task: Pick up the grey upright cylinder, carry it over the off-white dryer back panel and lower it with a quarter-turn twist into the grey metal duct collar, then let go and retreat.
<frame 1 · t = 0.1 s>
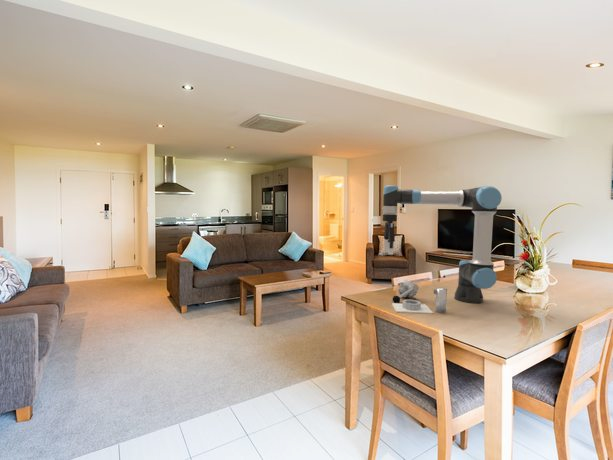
hand: (388, 252, 179), 28 cm above the table, fingers open, 13 cm apart
valve: (401, 299, 188), on the table
grey upright cylinder: (440, 311, 166), on the table
duct panel: (411, 308, 171), on the table
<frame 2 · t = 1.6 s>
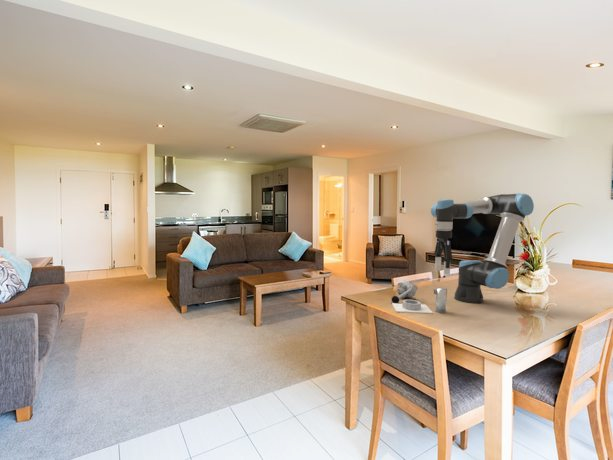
hand: (442, 271, 165), 21 cm above the table, fingers open, 13 cm apart
valve: (400, 300, 188), on the table
everything else where it was.
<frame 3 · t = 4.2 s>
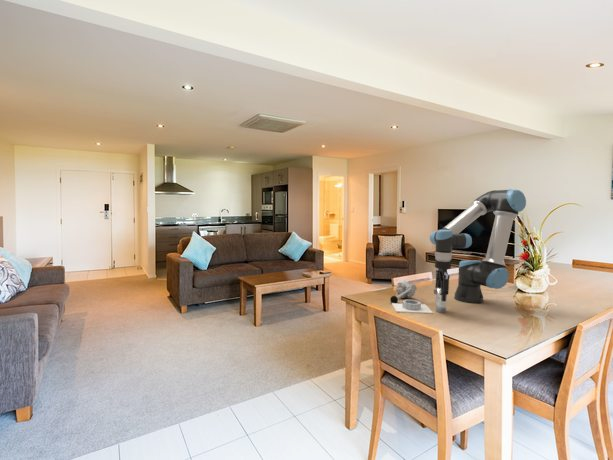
hand: (441, 305, 166), 3 cm above the table, fingers closed on grey upright cylinder, 5 cm apart
grey upright cylinder: (440, 311, 166), on the table, touching gripper
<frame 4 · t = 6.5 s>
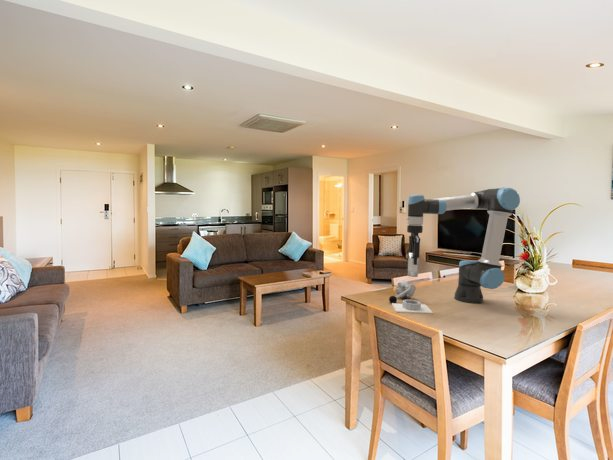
hand: (413, 269, 169), 21 cm above the table, fingers closed on grey upright cylinder, 5 cm apart
grey upright cylinder: (412, 275, 169), point 17 cm above the table, touching gripper
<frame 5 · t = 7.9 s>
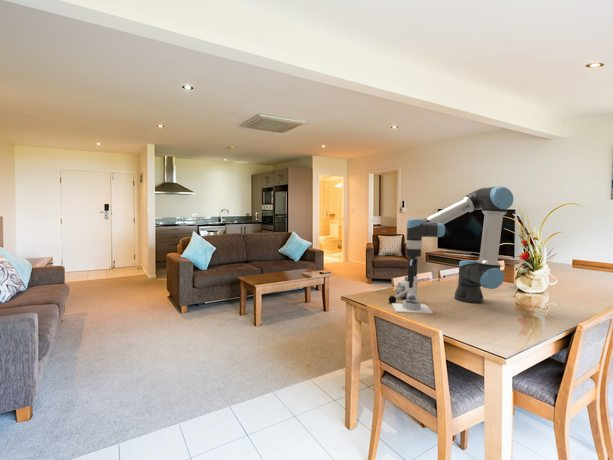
hand: (411, 292, 170), 9 cm above the table, fingers closed on grey upright cylinder, 5 cm apart
grey upright cylinder: (411, 298, 170), point 5 cm above the table, touching gripper
when the fingers open (5 cm above the table, at t = 9.2 s): grey upright cylinder drops 1 cm, resting on duct panel.
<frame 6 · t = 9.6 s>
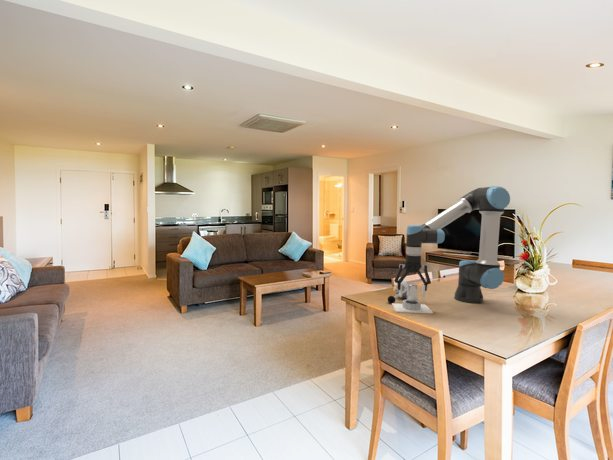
hand: (411, 296, 170), 6 cm above the table, fingers open, 11 cm apart
grey upright cylinder: (411, 307, 171), point 1 cm above the table, touching duct panel
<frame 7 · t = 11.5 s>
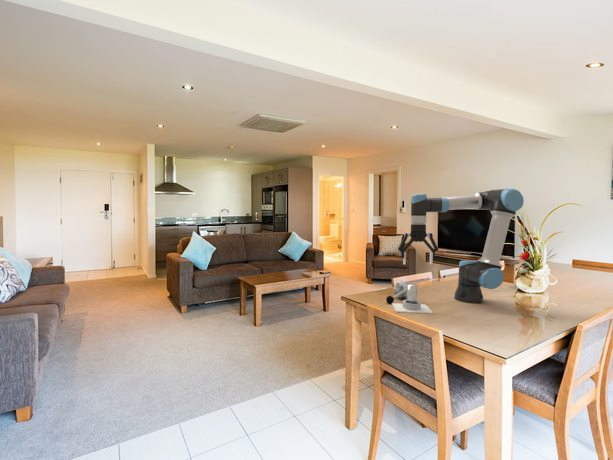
hand: (417, 264, 170), 23 cm above the table, fingers open, 13 cm apart
valve: (396, 300, 187), on the table, touching duct panel
everything else where it was.
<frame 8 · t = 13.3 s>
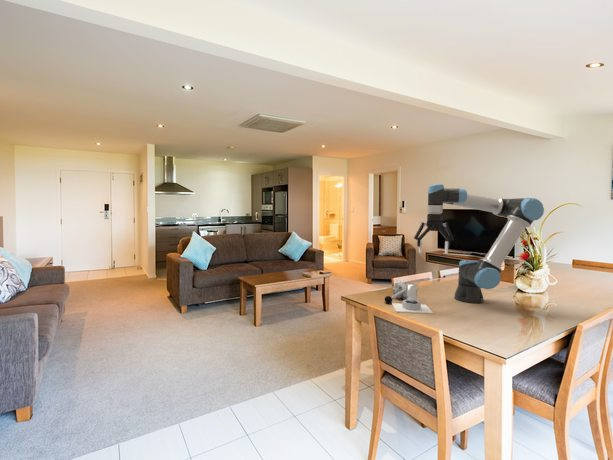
hand: (433, 253, 175), 29 cm above the table, fingers open, 13 cm apart
valve: (395, 300, 187), on the table
everything else where it was.
at the end: grey upright cylinder 0.1 cm off-centre on the duct panel, point 0.7 cm above the duct panel's base; grey upright cylinder tilted 0°; the gripper is holding nothing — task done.
